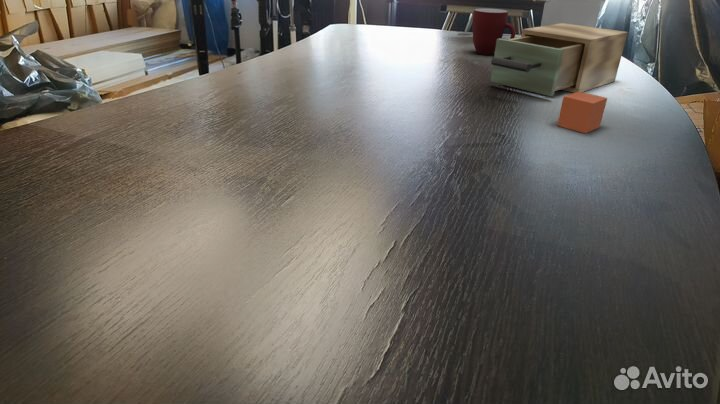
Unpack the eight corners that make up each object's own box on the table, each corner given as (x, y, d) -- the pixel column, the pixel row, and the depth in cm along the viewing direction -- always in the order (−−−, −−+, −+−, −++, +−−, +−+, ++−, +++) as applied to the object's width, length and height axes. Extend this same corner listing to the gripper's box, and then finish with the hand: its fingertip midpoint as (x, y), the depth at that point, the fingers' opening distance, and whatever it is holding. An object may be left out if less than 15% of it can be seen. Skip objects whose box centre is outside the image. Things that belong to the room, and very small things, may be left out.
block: (599, 127, 75) (607, 97, 73) (585, 133, 72) (593, 103, 70) (571, 119, 78) (578, 91, 75) (556, 125, 75) (563, 96, 73)
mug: (513, 53, 125) (520, 10, 120) (510, 59, 118) (517, 14, 114) (471, 49, 128) (476, 7, 123) (465, 54, 121) (471, 11, 117)
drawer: (535, 101, 83) (544, 53, 80) (474, 85, 91) (480, 41, 88) (589, 83, 95) (599, 41, 91) (531, 71, 103) (538, 32, 99)
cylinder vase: (531, 55, 122) (552, -59, 111) (540, 47, 132) (560, -59, 121) (585, 61, 118) (613, -58, 106) (590, 53, 127) (616, -57, 116)
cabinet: (578, 93, 92) (590, 39, 87) (513, 78, 101) (522, 29, 96) (614, 81, 101) (627, 31, 97) (553, 68, 110) (562, 23, 105)
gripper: (644, -103, 67) (617, 7, 74) (513, -97, 81) (500, -5, 87) (624, -106, 63) (598, 9, 70) (490, -99, 77) (478, -3, 83)
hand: (543, 1), depth 79 cm, fingers closed
